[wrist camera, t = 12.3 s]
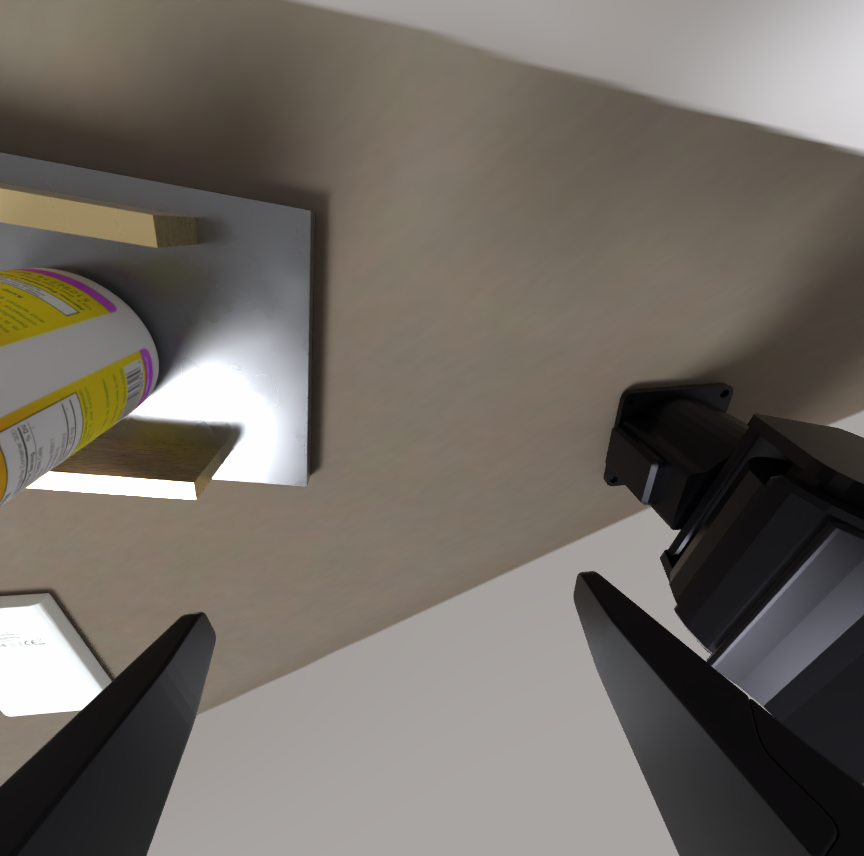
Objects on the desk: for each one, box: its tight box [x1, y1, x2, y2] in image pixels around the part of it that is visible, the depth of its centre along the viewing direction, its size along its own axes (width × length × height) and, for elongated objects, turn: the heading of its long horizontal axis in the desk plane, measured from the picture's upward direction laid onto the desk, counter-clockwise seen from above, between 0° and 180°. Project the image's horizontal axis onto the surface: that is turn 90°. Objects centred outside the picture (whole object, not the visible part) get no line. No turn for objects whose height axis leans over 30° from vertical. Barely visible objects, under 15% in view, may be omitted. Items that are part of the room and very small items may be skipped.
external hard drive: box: [0, 593, 112, 716], centre depth 28 cm, size 2×8×12 cm
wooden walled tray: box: [0, 152, 315, 500], centre depth 16 cm, size 20×14×4 cm
